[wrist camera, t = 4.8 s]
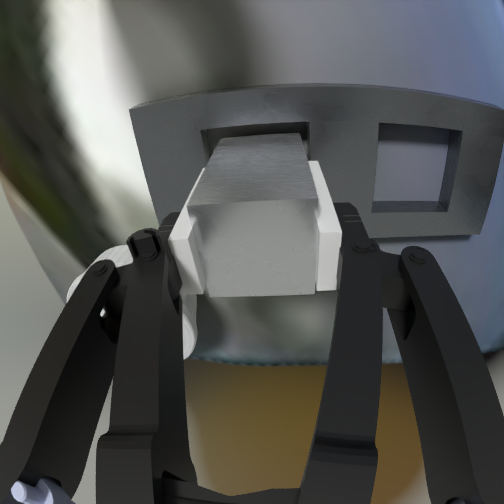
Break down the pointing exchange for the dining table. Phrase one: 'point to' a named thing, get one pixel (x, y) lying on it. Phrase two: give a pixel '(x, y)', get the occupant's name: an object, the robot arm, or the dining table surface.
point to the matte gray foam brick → (256, 217)
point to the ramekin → (189, 301)
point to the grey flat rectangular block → (332, 147)
